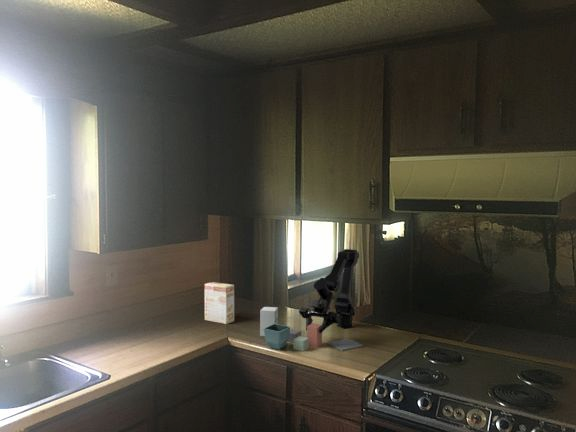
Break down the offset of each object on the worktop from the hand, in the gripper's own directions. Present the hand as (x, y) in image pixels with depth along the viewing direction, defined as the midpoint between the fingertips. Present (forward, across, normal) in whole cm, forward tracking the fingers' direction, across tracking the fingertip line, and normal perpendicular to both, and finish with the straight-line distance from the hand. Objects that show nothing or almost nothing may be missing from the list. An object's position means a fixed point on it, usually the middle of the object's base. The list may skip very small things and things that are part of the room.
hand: (313, 331), depth 223 cm
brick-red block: (+4, 0, +6) cm, 7 cm away
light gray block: (+4, -11, +6) cm, 13 cm away
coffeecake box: (-2, -61, +12) cm, 62 cm away
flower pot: (+12, -13, -2) cm, 18 cm away
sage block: (+9, -3, +1) cm, 9 cm away
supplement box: (+2, -26, +8) cm, 27 cm away
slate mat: (-2, +12, +11) cm, 16 cm away
